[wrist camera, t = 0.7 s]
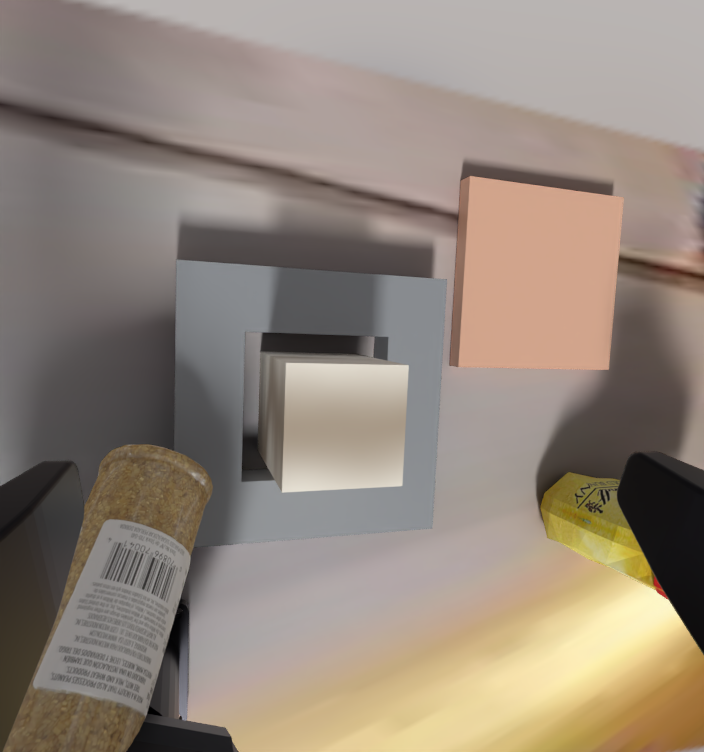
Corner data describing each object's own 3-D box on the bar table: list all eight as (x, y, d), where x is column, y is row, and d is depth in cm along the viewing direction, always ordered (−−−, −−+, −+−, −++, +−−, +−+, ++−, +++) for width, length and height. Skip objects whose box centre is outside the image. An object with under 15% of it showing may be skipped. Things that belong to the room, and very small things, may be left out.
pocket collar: (416, 515, 30) (432, 528, 28) (173, 532, 26) (172, 549, 25) (429, 282, 29) (447, 279, 27) (176, 263, 25) (176, 259, 23)
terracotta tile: (596, 368, 33) (608, 369, 32) (449, 365, 30) (458, 367, 29) (610, 201, 32) (623, 197, 31) (460, 180, 29) (470, 176, 28)
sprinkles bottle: (80, 455, 22) (-163, 934, 12) (162, 426, 20) (-55, 965, 11) (161, 509, 24) (10, 933, 15) (239, 488, 23) (121, 957, 13)
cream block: (351, 447, 29) (402, 486, 22) (257, 449, 27) (281, 492, 21) (355, 353, 28) (408, 365, 22) (260, 351, 27) (286, 362, 20)
